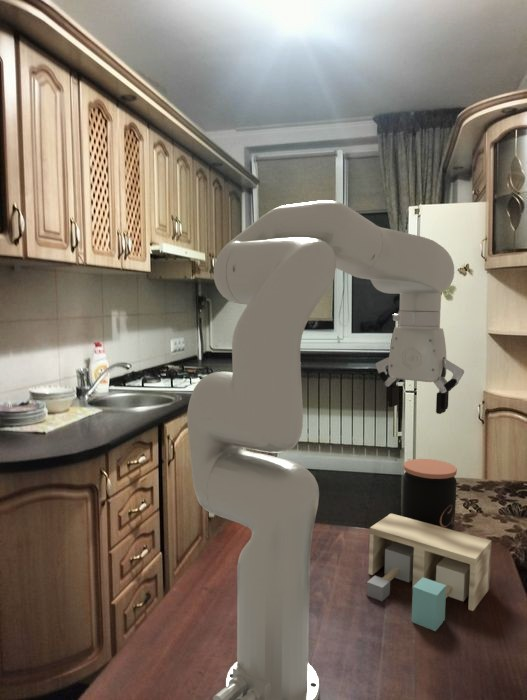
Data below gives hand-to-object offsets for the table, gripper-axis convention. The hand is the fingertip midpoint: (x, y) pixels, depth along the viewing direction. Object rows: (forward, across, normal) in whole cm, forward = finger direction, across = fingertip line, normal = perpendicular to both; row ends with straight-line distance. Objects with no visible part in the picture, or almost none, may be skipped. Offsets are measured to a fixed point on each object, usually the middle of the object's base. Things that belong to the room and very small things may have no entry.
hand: (416, 409), depth 106 cm
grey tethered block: (+31, 0, -9) cm, 33 cm away
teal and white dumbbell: (+31, +10, -10) cm, 34 cm away
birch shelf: (+31, +5, -4) cm, 32 cm away
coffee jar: (+31, 0, +8) cm, 32 cm away
